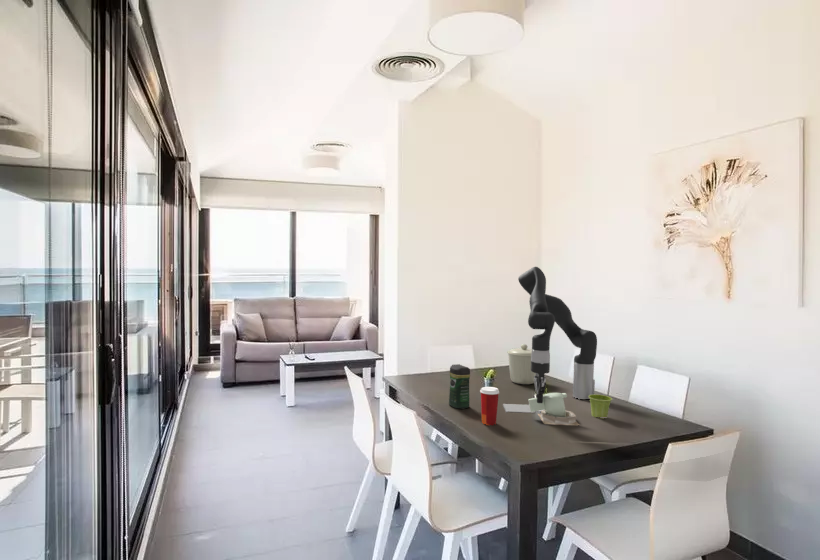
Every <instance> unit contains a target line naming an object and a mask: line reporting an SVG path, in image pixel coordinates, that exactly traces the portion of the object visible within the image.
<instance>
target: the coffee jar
mask: <svg viewBox="0 0 820 560" xmlns="http://www.w3.org/2000/svg"><path fill="white" fill-rule="evenodd" d="M470 377H471V369H470V368H469V367H467V366H464V365H462V364H460V363H459V364H458V363H457V364H452V365H450V367H449V395H448V397H449V398H448V404H449V406H451V408H452V407H453V408H455V409H461V410H463V409H467V408H469V407H470Z"/></svg>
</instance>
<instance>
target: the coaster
mask: <svg viewBox="0 0 820 560" xmlns="http://www.w3.org/2000/svg"><path fill="white" fill-rule="evenodd" d="M502 407H503V409H504V411H505V413H506V414H508V413H520V414H522V413H524V414H528V413H529V414H535V413H536V411H534V412H531V411H530V406H529V404H521V403H520V404H517V403H516V404H515V403H502Z"/></svg>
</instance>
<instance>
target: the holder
mask: <svg viewBox="0 0 820 560" xmlns="http://www.w3.org/2000/svg"><path fill="white" fill-rule="evenodd" d="M565 411H566V417H555V416H551V415H547V414H546V412H545V410H540V413H537V415H538V417H539V419H540V420H541V421H542V423H543V424H544V425H555V426H557V425H558V426H559V425H560V426H578V425H580V423H578V421H577V415H576V414H575V413H574V411H570V410H567V409H565Z"/></svg>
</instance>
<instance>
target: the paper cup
mask: <svg viewBox="0 0 820 560" xmlns="http://www.w3.org/2000/svg"><path fill="white" fill-rule="evenodd" d="M479 392H480V410H481V423H483V424H482V425H484V424H486V425H485V426H490V425H491V426H495V425H496V424H497V416H498V405H499V404H498V403H499V395H500V391H499V388H497V387H494V386H484V387H483V386H482V387H481V388H480V390H479ZM494 424H495V425H494Z"/></svg>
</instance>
